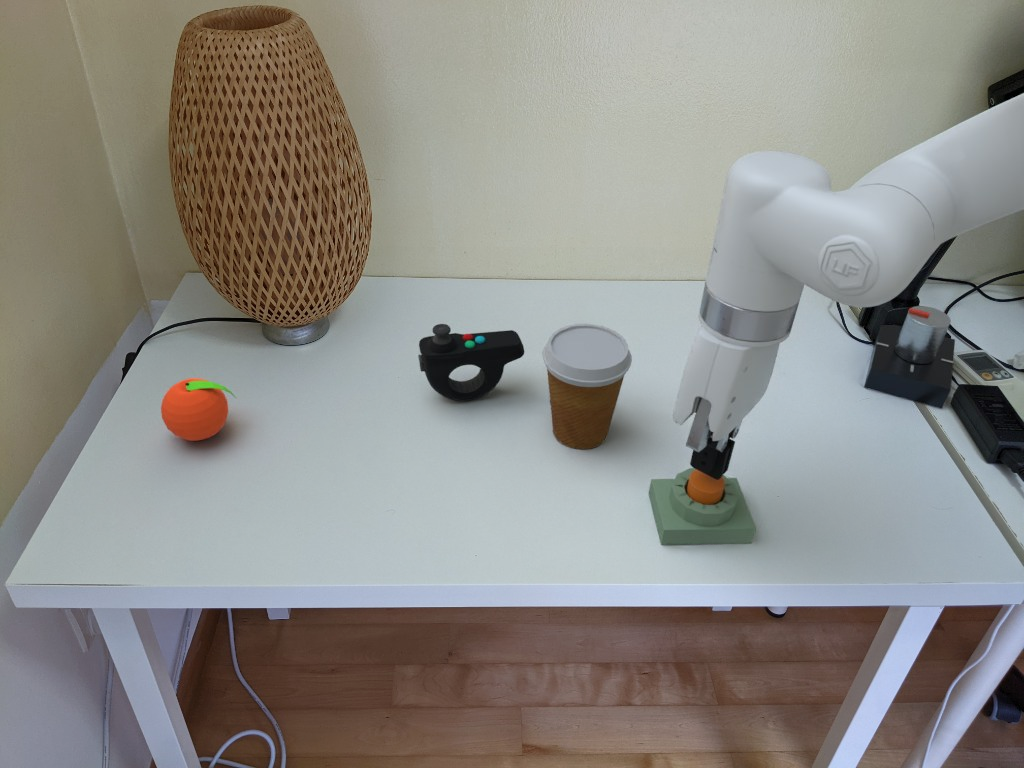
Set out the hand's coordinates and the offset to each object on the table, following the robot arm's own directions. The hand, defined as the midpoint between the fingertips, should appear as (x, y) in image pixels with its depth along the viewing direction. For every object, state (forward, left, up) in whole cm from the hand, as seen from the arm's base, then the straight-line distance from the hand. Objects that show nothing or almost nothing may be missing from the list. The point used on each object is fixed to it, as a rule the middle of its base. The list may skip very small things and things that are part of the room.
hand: (708, 468), depth 75 cm
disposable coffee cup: (+17, -3, -7) cm, 18 cm away
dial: (-8, -40, -4) cm, 41 cm away
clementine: (+49, +25, -7) cm, 55 cm away
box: (0, 0, -7) cm, 7 cm away
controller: (+31, 0, -7) cm, 32 cm away
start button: (0, 0, -3) cm, 3 cm away
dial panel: (-8, -40, -7) cm, 41 cm away
